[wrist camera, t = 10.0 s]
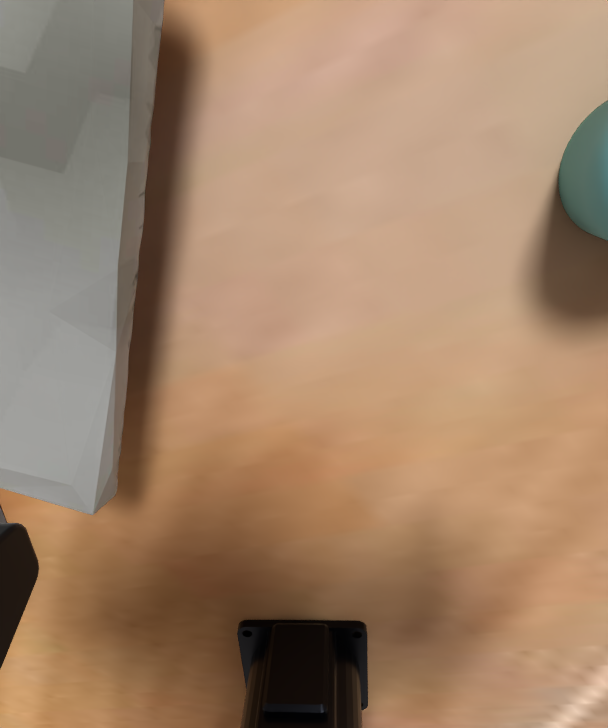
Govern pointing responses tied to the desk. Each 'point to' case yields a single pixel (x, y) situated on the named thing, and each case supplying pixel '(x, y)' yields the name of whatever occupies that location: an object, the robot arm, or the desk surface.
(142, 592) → the desk surface
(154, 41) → the light grey block
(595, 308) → the desk surface
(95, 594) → the desk surface
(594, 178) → the teal cylinder
